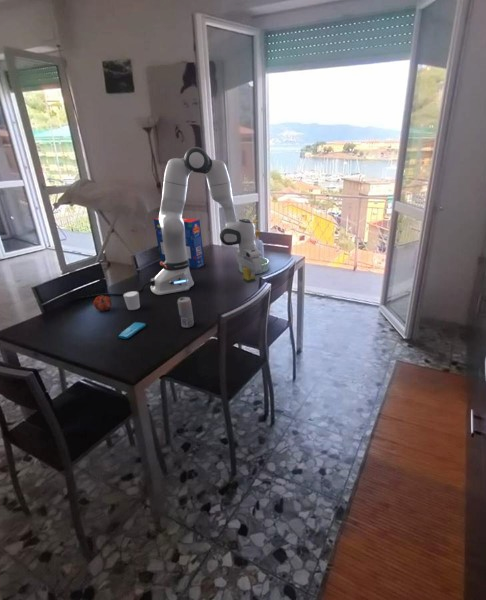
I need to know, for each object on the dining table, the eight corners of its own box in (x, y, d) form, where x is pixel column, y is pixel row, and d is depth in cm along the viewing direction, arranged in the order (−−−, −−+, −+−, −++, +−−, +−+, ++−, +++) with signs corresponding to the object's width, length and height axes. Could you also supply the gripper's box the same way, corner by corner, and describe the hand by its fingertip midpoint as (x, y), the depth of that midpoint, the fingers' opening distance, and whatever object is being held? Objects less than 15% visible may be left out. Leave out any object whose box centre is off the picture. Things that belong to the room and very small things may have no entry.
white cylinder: (125, 311, 163) (122, 297, 160) (126, 305, 169) (123, 292, 166) (141, 309, 165) (138, 295, 162) (141, 303, 171) (139, 290, 168)
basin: (248, 277, 199) (248, 268, 196) (233, 268, 212) (233, 260, 210) (274, 270, 207) (274, 262, 205) (258, 262, 221) (258, 254, 219)
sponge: (114, 335, 141) (125, 336, 139) (134, 321, 152) (145, 322, 149) (115, 338, 142) (126, 339, 140) (135, 324, 152) (146, 325, 150)
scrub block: (247, 282, 191) (247, 270, 189) (243, 279, 195) (242, 267, 192) (255, 280, 194) (254, 268, 191) (250, 278, 197) (250, 266, 194)
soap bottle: (263, 260, 223) (262, 221, 213) (249, 261, 224) (247, 222, 213) (264, 256, 232) (262, 218, 221) (250, 256, 232) (248, 219, 222)
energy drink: (188, 320, 153) (185, 295, 148) (196, 324, 150) (193, 298, 145) (178, 325, 149) (174, 299, 144) (186, 329, 146) (182, 303, 141)
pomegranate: (95, 314, 167) (92, 309, 157) (94, 299, 168) (91, 293, 159) (112, 312, 169) (110, 308, 160) (112, 298, 171) (109, 292, 162)
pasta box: (204, 264, 220) (199, 219, 208) (196, 268, 214) (191, 222, 202) (169, 259, 232) (162, 216, 220) (161, 263, 225) (153, 219, 213)
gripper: (232, 247, 193) (234, 270, 199) (252, 256, 178) (253, 281, 184) (243, 245, 197) (244, 268, 202) (262, 253, 181) (263, 278, 187)
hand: (249, 274), depth 193 cm, fingers closed on scrub block, 4 cm apart
